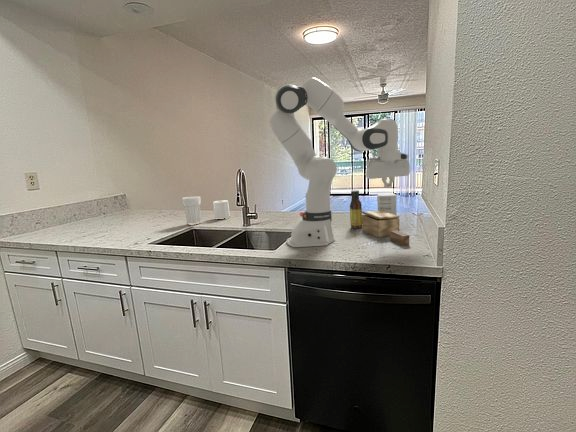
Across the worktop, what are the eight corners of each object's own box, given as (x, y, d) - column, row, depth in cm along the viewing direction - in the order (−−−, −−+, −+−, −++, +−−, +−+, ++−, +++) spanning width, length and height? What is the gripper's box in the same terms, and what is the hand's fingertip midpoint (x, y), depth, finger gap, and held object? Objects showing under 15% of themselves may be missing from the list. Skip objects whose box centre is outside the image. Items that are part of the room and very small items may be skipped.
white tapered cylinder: (214, 218, 228) (212, 200, 226) (229, 216, 230) (227, 199, 228) (214, 220, 218) (212, 202, 216) (230, 219, 221) (228, 201, 218)
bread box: (377, 237, 153) (377, 220, 151) (362, 229, 169) (362, 214, 167) (399, 234, 155) (399, 218, 153) (382, 227, 171) (382, 212, 169)
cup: (181, 225, 209) (178, 198, 206) (194, 221, 219) (191, 196, 216) (193, 226, 203) (190, 198, 200) (207, 222, 213) (204, 196, 210)
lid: (377, 219, 151) (377, 217, 151) (362, 213, 167) (362, 211, 167) (399, 217, 153) (399, 215, 153) (382, 212, 169) (382, 210, 169)
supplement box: (396, 227, 170) (396, 195, 166) (378, 227, 172) (378, 195, 168) (394, 223, 179) (394, 192, 176) (377, 223, 181) (377, 193, 178)
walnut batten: (402, 246, 137) (402, 236, 137) (390, 240, 147) (390, 230, 146) (409, 245, 138) (409, 235, 137) (396, 239, 148) (396, 230, 147)
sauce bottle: (355, 225, 180) (354, 189, 176) (364, 227, 175) (364, 190, 171) (347, 227, 175) (346, 191, 172) (357, 229, 171) (356, 191, 167)
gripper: (370, 158, 141) (370, 189, 143) (411, 155, 145) (411, 185, 148) (363, 158, 147) (363, 188, 150) (403, 155, 151) (403, 184, 154)
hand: (388, 187), depth 149 cm, fingers closed
